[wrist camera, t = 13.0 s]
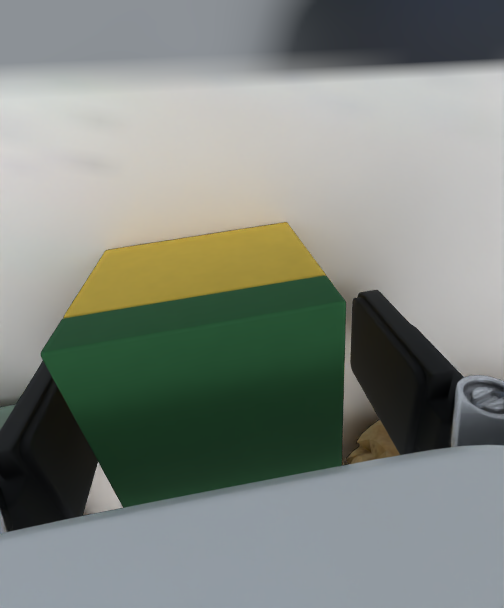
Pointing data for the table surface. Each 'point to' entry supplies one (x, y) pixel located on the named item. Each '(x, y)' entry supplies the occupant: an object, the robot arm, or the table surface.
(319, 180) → the table surface
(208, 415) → the dish sponge
